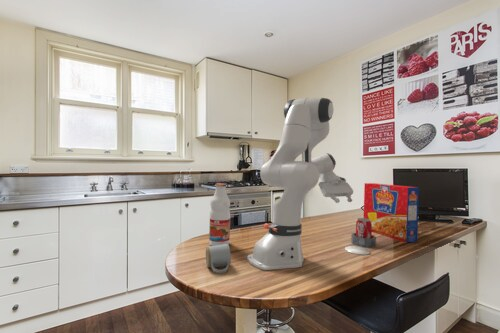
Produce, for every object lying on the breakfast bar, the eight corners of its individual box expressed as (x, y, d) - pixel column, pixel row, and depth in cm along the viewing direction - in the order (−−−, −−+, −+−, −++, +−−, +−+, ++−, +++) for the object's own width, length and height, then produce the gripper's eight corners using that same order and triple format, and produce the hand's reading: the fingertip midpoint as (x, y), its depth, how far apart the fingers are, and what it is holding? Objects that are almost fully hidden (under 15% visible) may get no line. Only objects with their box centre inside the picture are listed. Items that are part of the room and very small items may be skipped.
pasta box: (363, 229, 152) (364, 183, 152) (373, 228, 155) (374, 183, 155) (406, 242, 126) (407, 187, 126) (417, 241, 129) (418, 187, 129)
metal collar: (365, 248, 115) (365, 239, 115) (346, 241, 125) (347, 233, 125) (380, 245, 120) (380, 237, 120) (361, 239, 130) (361, 231, 130)
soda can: (373, 246, 118) (373, 221, 118) (357, 245, 120) (357, 220, 120) (369, 242, 125) (369, 218, 125) (354, 241, 127) (354, 217, 127)
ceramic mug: (204, 263, 93) (205, 242, 93) (225, 261, 96) (226, 241, 96) (210, 276, 83) (210, 253, 83) (233, 273, 86) (234, 250, 86)
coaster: (359, 256, 105) (359, 255, 105) (339, 248, 114) (339, 247, 114) (375, 252, 110) (375, 252, 110) (355, 245, 119) (355, 245, 119)
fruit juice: (232, 242, 119) (234, 183, 119) (224, 248, 110) (226, 184, 110) (214, 240, 122) (216, 182, 122) (205, 246, 113) (207, 183, 113)
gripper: (320, 178, 135) (333, 198, 127) (347, 178, 145) (361, 197, 136) (314, 185, 139) (326, 206, 131) (340, 185, 149) (354, 204, 140)
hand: (344, 201), depth 133 cm, fingers open, 8 cm apart
